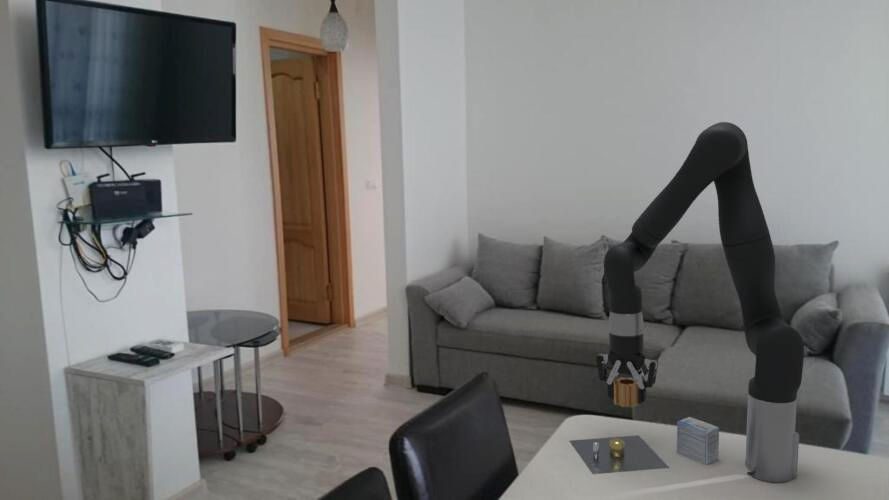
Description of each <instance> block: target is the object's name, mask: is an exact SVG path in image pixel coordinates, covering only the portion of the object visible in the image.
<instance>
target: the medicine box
mask: <svg viewBox="0 0 889 500" xmlns="http://www.w3.org/2000/svg"><path fill="white" fill-rule="evenodd" d="M676 423H677V424H676V428H677V429H676V453H678V454H680V455H683V456H685V457H688V458H689V459H693V460H695V461H697V462H699V463H701V464H703V465H704V464H705V465H710V464H712V463H714V462H715V461H716V462H717V461H719V453H720V452H719V447H720V446H719V445H720V444H719V442H720V440H719V439H720V427H718V426H716V425H714V424H711V423H708V422H705V421H702V420H700V419H697V418H694V417H691V416H688V417H684V418H683V419H681V420H679V421H677V422H676Z"/></svg>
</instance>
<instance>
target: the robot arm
mask: <svg viewBox="0 0 889 500" xmlns="http://www.w3.org/2000/svg"><path fill="white" fill-rule="evenodd" d="M748 145H749V144H748V140H747V136H746V134H745V132H744V131H743V129H741V128H740V127H739V126H737V125H736V124H734V123H731V122H727V121H722V122H721V121H720V122H716V123H714V124H712V125H710V126H709V127H707V128H706V129H703V131H702V132H700V133H699V135H698V136H697V138H696V140H695V142H694V144H693V146H692V148H691V150H690V151H689V153H688V155H687V157H686V159H685V160H684V162H683V163H682V165H681V166H680V168H679V169H678V171H677V172H676V173H675V175H674V176H673V178H672V179H671V180H670V182H669V183H668V184H667V185H666V186H665V187H664V188H663V189H662V190H661V191H660V193H658V194H657V196H656V197H655V198H654V199H653V200H652V201H651V202H650V204H649V205H648V206H647V207H646V208H645V209H644V210H643V212H641V214H640V215H639V217H638V218H637V219H636V220H635V222H634V223H633V224H632V227H631V232H630V234H628V237H627V238H626V239H624V240H623V242H621V243H618V244H615V245H614V246H611V247H610V248H608V249H607V251H606V253H605V255H604V259H603V269H604V275H605V280H606V283H607V288H608V290H609V317H608V318H609V319H608V329H609V330H608V337H609V340H608V341H609V343H608V345H609V347H608V348H609V353H606V354H605V353H603V352H600V353H598V355H597V356H596V357H595V360H596V366H597V372H598V377H599V378H598V379H599V380H600V381H602V382H605V383H606V384H607V396H608V398H609V400H612V401H614V384H613V380H614V379H616V380H617V378H618V375H619V374H620V375H629V376H632V378H633V379H635V380H636V382H637V384H638V386H639V389H638V404H640V405H643V404H644V403H645V402H646V400H647V395H648V393H647V392H648V391H647V389H649V388H650V389H651V388H653V386H654V385H655V384H656V379H657V373H658V368H659V367H658V366H659V361H658V360H657V359H653V360H652V359H649V358H646V356H645V353H644V351H645V350H644V345H645V344H644V330H645V326H644V317H643V296H642V295H643V294H642V289H641V287H639V285H637V284H636V280H635V272H637V271H639V270H641V269H642V268H643V267H644V266H645V265H646V264H647V262H648V261H649V259H651V257H652V256H653V254H654V252H655V251H656V249H657V247H658V246H659V245H660V244H661V242H663V240H664V239H665V238H666V237H667V236H668V235H669V234H670V232H671V231H672V230H673V229H674V228H675V227H676V226H677V224H678V223H680V221H681V219H682V218H683V217H684V215H685V213H687V211H688V210H689V209H690V207H691V206H692V204H693V203H694V202H695V201H696V199H697V198H698V197H699V196H700V195H701V193H702V192H704V190H705V189H707V188H708V186H709V185H711V184H712V183H714V186H715V190H716V196H717V197H716V198H717V207H718V208H717V209H718V210H717V211H718V212H717V213H718V215H717V216H718V228H719V229H718V230H719V235H720V241H721V245H722V249H723V253H724V256H725V260H726V263H727V265H728V266H727V267H728V268H729V273H730V276H731V279H732V282H733V285H734V287H735V290H736V294H737V297H738V300H739V303H740V310H741V316H742V323H743V330H744V336H745V341H746V345H747V347H748V349H749V351H750V352H751V353H752V354H753V355H754V356H755V366H754V368H755V369H754V377H751V378H750V379H749V381H748V385H747V386H748V388H747V389H748V390H747V414H746V415H747V416H746V437H745V458H744V459H745V460H744V462H745V463H744V465H745V468H746V469H747V470H749V471H748V472H746V473H747V474H748V475H749V476H751V477H753V478H755V479H757V480H760V481H763V482H769V483H784V482H785V483H786V482H788V481H790V480H792V479H793V478H798V465H799V463H798V462H799V450H800V449H799V448H800V447H799V446H800V434H799V432H797V431H796V417H797V401H798V400H797V398H798V391H799V389H800V387H801V385H802V378H803V370H804V369H803V368H804V360H805V359H804V358H805V357H804V356H805V346H804V345H805V344H804V343H805V342H804V340H803V337H802V335H801V333H800V332H799V331H798V330H797V329H796V328H794V327H793V326H791V325H790V324H788V323H787V322H786V321H785V318H784V316H783V314H782V311H781V308H780V306H779V305H780V304H779V302H778V299H777V294H776V291H775V281H776V280H775V279H776V255H775V249H774V245H773V242H772V241H773V240H772V237H771V234H770V230H769V226H768V224H767V221H766V217H765V214H764V210H763V207H762V205H761V202H760V199H759V196H758V193H757V191H756V187H755V184H754V179H753V174H752V168H751V167H752V166H751V161H750V154H749V153H750V152H749V147H748ZM608 361H609V363H610V364H611V366H612V369H611V370H610V373H609V374H608V368H607V363H608ZM644 365H645V366H646V369H647V370H648V373H647V379H646V377H645V373H644V371H643V369H642V367H643V366H644Z"/></svg>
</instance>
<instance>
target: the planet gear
mask: <svg viewBox="0 0 889 500" xmlns="http://www.w3.org/2000/svg"><path fill="white" fill-rule="evenodd" d="M613 384H614V400H613V405H616V406H617V405H618V406H620V407H621V408H626V407H627V408H629V407H630V408H635V407H637V406H640V405H641V404H638V389H639V386H638V384H637V382H636V380H635V379H634V377H623V376H622V377H619V378H616V379H614V380H613Z"/></svg>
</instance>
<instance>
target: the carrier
mask: <svg viewBox="0 0 889 500" xmlns="http://www.w3.org/2000/svg"><path fill="white" fill-rule="evenodd" d="M641 437H642V436H640V435H638V434H637V435H627V436H615V437H614V436H613V437H611V436H610V437H602V438H601V437H600V438H599V437H598V438H587V439H586V438H585V439H573V440H569V442H570V444H571V446H572V447H573V449H574V450H575V451H576V453H577V455H579V457H580V458H581V460H582V461H583V463H584V464H585V465H586V467H587V468H588V469H589V471H590V473H591V474H592V475H599V474H610V473H611V474H613V473H623V472H637V471H647V470H650V471H651V470H658V469H659V470H660V469H670V466H669V465H667V463H666V462H665V461H664V460H663V459H662V458H661V457H660V456H659V455H658V453H656V452H655V451H654V450H653V449H652V448H651V446H649V445H648V444H647V442H646V441H645V440H644V439H643V438H641Z"/></svg>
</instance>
